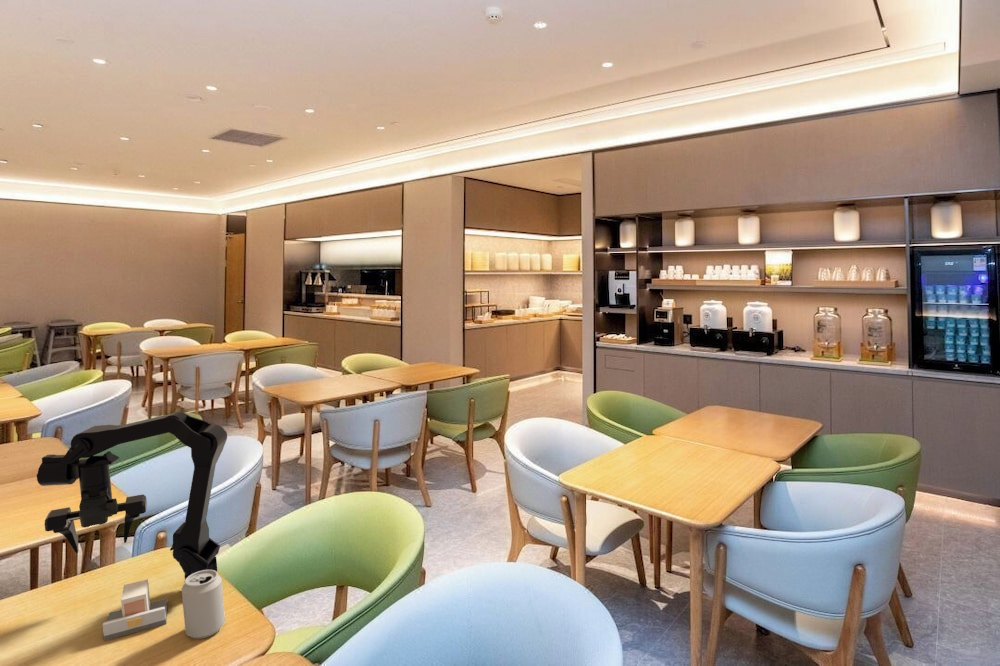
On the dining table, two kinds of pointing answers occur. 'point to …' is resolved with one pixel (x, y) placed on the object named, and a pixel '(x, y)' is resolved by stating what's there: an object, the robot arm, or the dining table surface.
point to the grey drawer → (135, 620)
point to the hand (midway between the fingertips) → (101, 547)
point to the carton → (135, 598)
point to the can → (203, 604)
